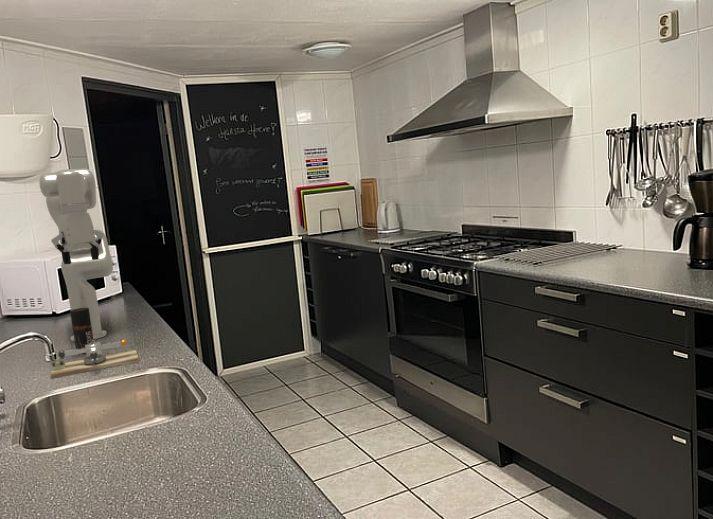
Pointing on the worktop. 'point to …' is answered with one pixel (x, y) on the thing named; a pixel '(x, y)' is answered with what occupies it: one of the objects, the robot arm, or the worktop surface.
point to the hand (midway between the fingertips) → (81, 261)
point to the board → (79, 366)
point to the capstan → (93, 351)
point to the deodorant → (81, 327)
